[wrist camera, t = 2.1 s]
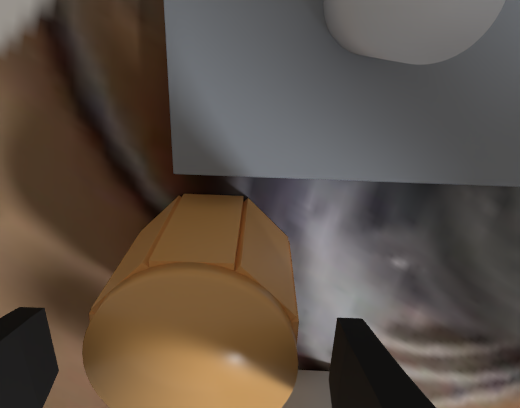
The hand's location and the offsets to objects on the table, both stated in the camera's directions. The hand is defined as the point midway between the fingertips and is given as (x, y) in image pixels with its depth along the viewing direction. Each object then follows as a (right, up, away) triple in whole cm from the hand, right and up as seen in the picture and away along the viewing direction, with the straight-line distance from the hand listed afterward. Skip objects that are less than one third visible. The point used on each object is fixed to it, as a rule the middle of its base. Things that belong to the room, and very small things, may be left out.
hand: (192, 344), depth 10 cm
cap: (0, +1, +4) cm, 4 cm away
